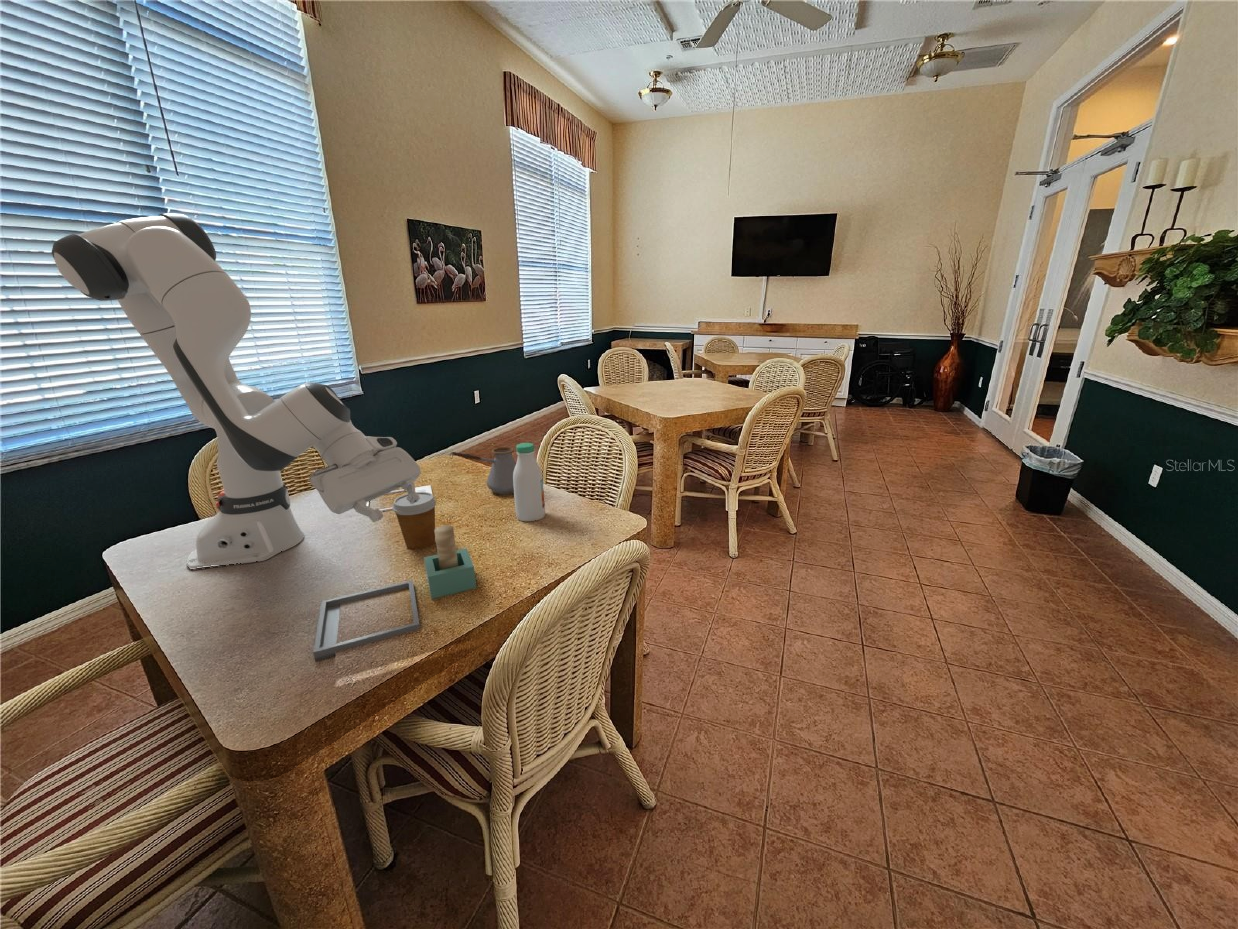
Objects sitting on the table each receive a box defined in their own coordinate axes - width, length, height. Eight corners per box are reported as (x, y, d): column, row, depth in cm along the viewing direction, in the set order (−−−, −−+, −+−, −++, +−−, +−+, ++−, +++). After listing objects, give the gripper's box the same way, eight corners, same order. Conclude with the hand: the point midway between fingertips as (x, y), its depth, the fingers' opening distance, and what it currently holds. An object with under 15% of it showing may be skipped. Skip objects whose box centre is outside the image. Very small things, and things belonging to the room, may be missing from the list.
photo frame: (434, 500, 142) (364, 512, 135) (434, 504, 142) (365, 515, 136) (430, 484, 155) (366, 494, 148) (430, 487, 155) (367, 497, 148)
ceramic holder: (432, 602, 95) (427, 577, 93) (427, 581, 102) (423, 557, 100) (477, 591, 98) (473, 566, 96) (469, 571, 105) (466, 548, 104)
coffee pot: (516, 480, 159) (512, 435, 154) (531, 491, 150) (527, 443, 145) (449, 495, 147) (443, 447, 143) (462, 508, 138) (455, 457, 134)
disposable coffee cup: (428, 556, 112) (420, 508, 108) (391, 553, 114) (382, 505, 110) (449, 537, 121) (443, 492, 117) (415, 535, 123) (407, 490, 119)
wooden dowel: (443, 589, 98) (435, 534, 94) (441, 580, 101) (433, 527, 97) (461, 584, 99) (454, 531, 95) (458, 576, 102) (451, 524, 98)
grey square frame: (315, 661, 80) (313, 652, 79) (323, 609, 93) (321, 601, 93) (420, 632, 86) (419, 624, 85) (413, 587, 100) (412, 580, 99)
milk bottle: (540, 523, 128) (534, 449, 122) (512, 521, 129) (505, 448, 123) (549, 511, 135) (544, 441, 129) (522, 509, 136) (515, 440, 130)
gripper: (309, 464, 87) (360, 522, 87) (399, 435, 105) (441, 483, 105) (298, 484, 90) (346, 541, 90) (387, 453, 108) (428, 500, 108)
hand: (398, 509), depth 97 cm, fingers open, 8 cm apart
